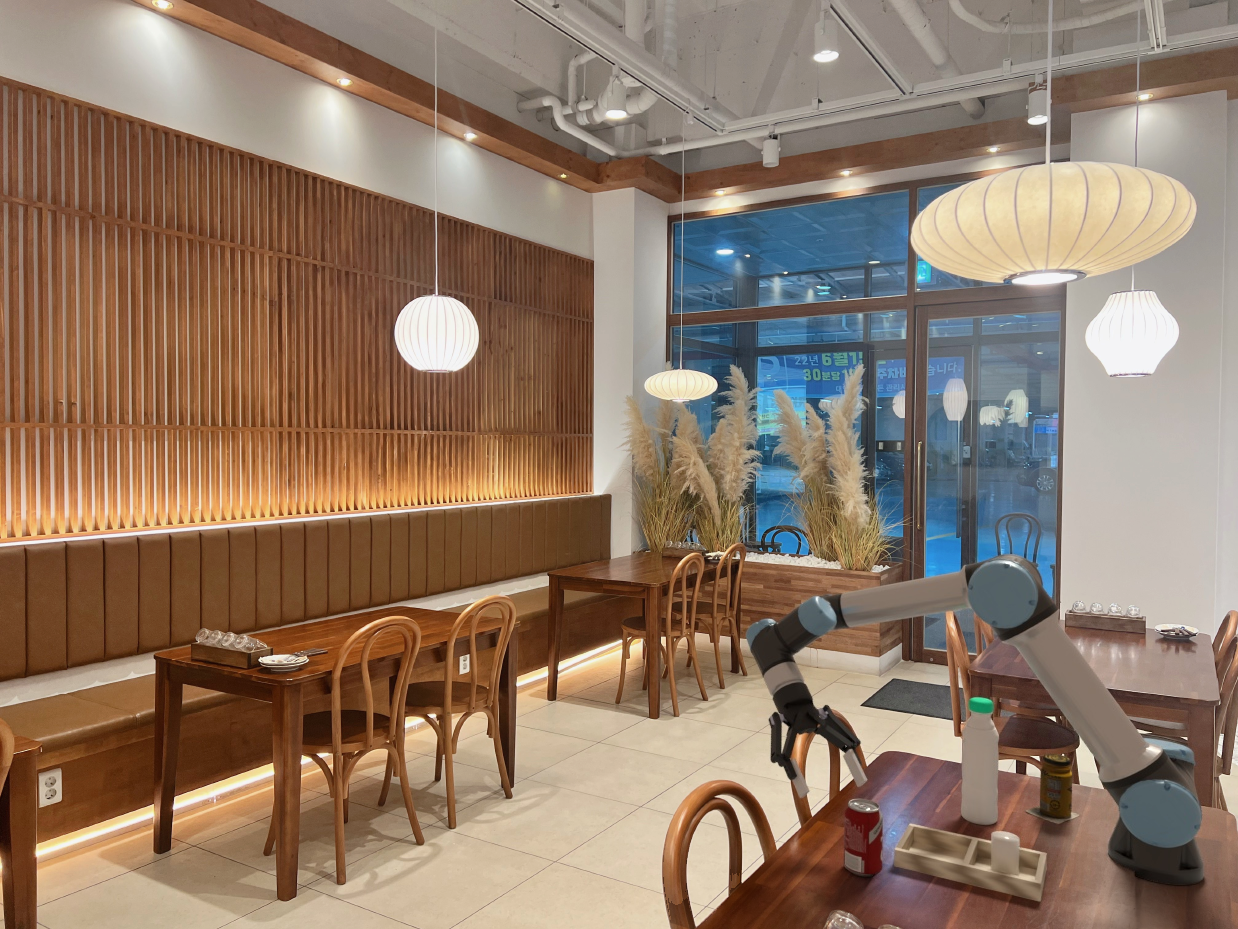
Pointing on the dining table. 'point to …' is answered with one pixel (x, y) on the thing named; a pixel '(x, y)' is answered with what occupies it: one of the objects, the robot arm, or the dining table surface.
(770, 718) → the robot arm
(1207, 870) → the dining table surface
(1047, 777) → the condiment
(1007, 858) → the salt shaker
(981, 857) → the drink caddy
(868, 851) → the soda can
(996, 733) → the water bottle
